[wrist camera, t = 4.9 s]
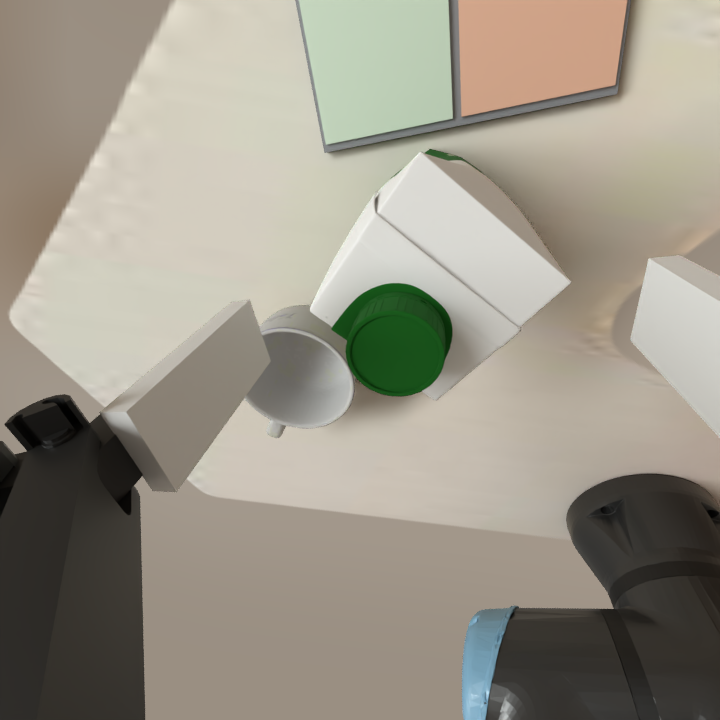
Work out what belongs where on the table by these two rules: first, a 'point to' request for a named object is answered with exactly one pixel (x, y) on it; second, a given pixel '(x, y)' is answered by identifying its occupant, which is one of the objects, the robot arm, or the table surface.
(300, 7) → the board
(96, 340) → the table surface
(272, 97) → the table surface
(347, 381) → the teacup
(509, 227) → the soya milk
